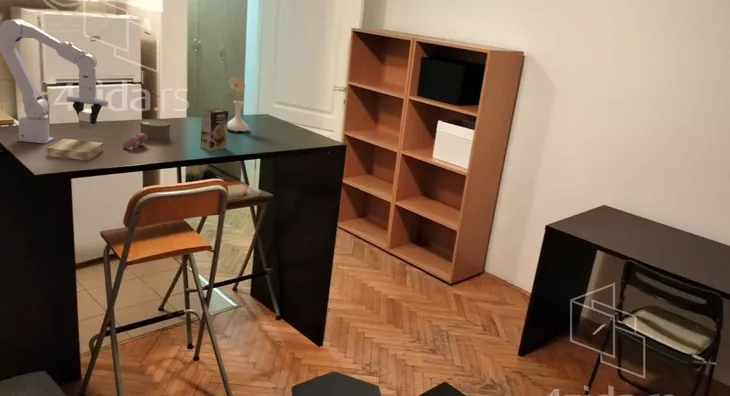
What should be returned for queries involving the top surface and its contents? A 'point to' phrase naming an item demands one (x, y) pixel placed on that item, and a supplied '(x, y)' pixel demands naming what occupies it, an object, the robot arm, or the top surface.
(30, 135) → the robot arm
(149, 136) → the can
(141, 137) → the pink toy
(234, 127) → the flower in vase
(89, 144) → the birch stand
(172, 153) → the top surface
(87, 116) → the two-plate housing
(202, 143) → the coffee box
